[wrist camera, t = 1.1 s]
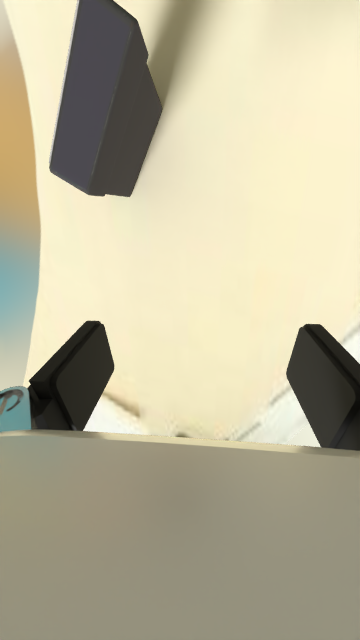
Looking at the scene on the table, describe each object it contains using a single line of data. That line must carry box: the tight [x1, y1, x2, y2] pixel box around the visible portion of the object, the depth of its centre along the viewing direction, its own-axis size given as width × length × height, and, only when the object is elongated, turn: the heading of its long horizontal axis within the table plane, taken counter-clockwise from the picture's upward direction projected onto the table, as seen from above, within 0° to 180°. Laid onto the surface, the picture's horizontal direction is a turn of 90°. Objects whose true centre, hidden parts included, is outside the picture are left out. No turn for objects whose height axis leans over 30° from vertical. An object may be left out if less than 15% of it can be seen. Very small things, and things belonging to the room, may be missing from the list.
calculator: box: [49, 0, 162, 197], centre depth 21 cm, size 11×4×15 cm, turn 151°
